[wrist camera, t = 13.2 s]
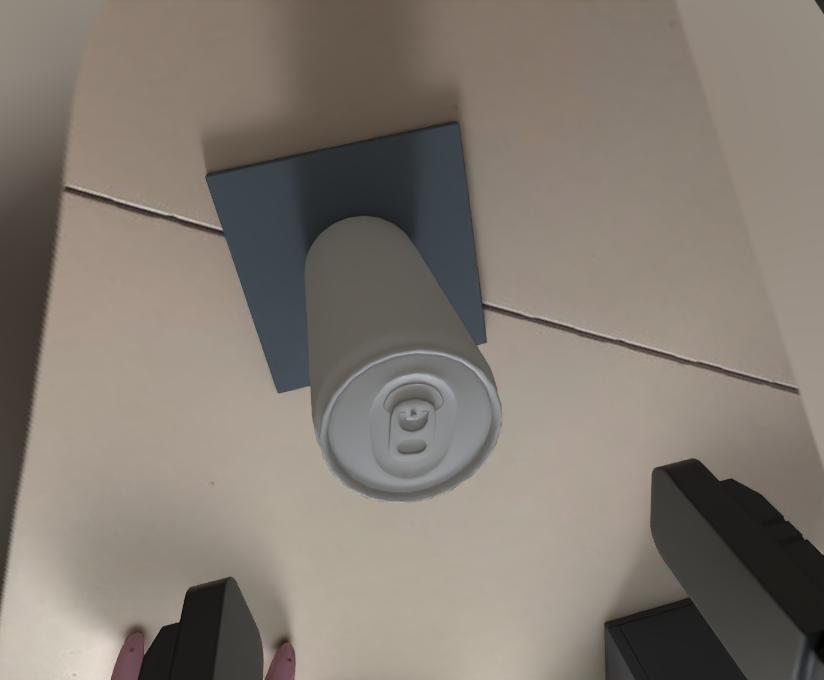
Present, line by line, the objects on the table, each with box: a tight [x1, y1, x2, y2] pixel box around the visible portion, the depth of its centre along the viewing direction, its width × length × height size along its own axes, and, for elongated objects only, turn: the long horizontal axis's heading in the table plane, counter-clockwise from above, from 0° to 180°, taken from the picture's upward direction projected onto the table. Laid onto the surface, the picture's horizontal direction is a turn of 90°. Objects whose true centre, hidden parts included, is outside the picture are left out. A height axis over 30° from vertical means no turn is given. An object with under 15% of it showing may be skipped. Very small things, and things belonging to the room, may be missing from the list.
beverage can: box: [304, 216, 502, 503], centre depth 20 cm, size 5×5×12 cm
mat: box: [205, 122, 487, 393], centre depth 25 cm, size 10×10×1 cm
